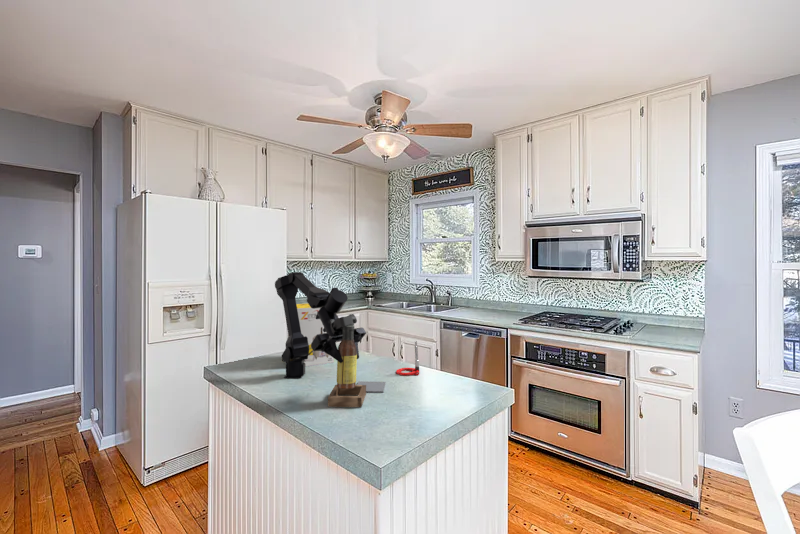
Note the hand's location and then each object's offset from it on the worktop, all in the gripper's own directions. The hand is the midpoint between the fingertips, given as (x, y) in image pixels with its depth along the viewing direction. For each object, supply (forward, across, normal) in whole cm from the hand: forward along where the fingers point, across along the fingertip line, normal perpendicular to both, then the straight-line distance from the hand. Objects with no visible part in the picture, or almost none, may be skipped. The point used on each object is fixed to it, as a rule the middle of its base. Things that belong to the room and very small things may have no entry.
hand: (350, 360), depth 119 cm
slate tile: (+6, +13, +13) cm, 19 cm away
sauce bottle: (+6, -1, +7) cm, 9 cm away
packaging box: (-26, +16, +46) cm, 55 cm away
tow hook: (+4, +35, +15) cm, 38 cm away
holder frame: (+8, 0, +10) cm, 13 cm away
